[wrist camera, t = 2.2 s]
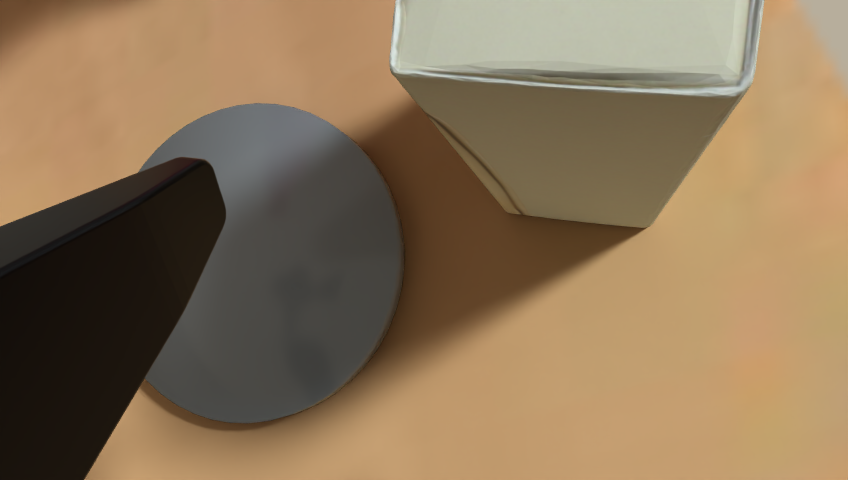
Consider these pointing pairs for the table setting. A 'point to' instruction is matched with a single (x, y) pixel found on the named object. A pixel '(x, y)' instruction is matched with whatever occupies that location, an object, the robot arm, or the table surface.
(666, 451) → the table surface
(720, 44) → the skincare box
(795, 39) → the table surface
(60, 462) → the robot arm
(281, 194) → the charcoal coaster
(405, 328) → the table surface
